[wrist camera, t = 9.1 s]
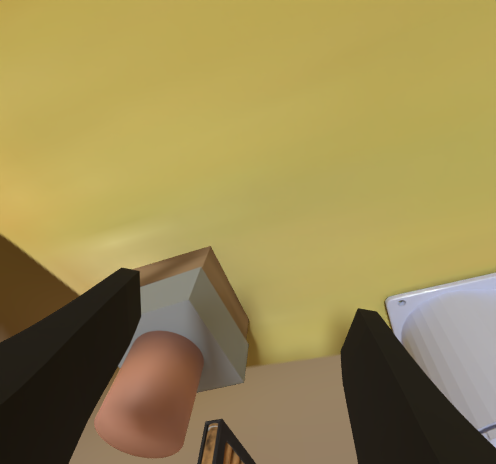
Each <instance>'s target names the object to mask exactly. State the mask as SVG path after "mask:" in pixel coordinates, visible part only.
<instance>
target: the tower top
mask: <svg viewBox="0 0 496 464" xmlns="http://www.w3.org/2000/svg"><path fill="white" fill-rule="evenodd" d="M140 294H141V319H140V321H139V324H138V326H137V329H136V331H135V334H134V336H133V339H132V341H131V343H130V345H129V347H128V349H127V351H126V353H125V354H124V356H123V358H122V360H121V362H120V363H119V365H118V367H119V368H121V366H122V364H123V362H124V360H125V359H126V357H127V355H128V353H129V351H130V349H131V347H132V345H133V343H134V341H135V340H136V339H137V338H138V337H139V336H140V335H142V334H144V333H147V332H151V331H169V332H173V333H177V334H179V335H182V336H184V337H186V338H187V339H189V340H190V341H192V342H193V343H194V344H195V345H196V346H197V347H198V348H199V349H200V351H201V353H202V355H203V358H204V366H203V369H202V373H201V377H200V381H199V385H198V389H197V393H198V392H202V391H207V390H212V389H216V388H222V387H226V386H231V385H236V384H240V383H244V379H245V371H246V363H247V355H248V346H249V344H248V343H247V341H246V339H245V338H244V336H243V334H242V333H241V331H240V329H239V328H238V326H237V325H236V323H235V321H234V320H233V318H232V316H231V315H230V313H229V311H228V310H227V308H226V307H225V305H224V303H223V302H222V300H221V298H220V297H219V295H218V293H217V292H216V290H215V289H214V287H213V285H212V284H211V282H210V280H209V279H208V277H207V275H206V274H205V272H204V271H203V269H202V267H199V268H196V269H193V270H190V271H187V272H184V273H181V274H178V275H175V276H172V277H169V278H166V279H163V280H160V281H157V282H154V283H151V284H148V285H145V286H142V287H140Z"/></svg>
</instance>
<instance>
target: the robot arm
mask: <svg viewBox="0 0 496 464" xmlns="http://www.w3.org/2000/svg"><path fill="white" fill-rule="evenodd" d="M401 300H404V301H402V302H399V301H401ZM385 304H386V308H387V311H388V315H389V319H390V322H391V326H392V329H393V332H392V331H391V329H390V328H389V327H388V325H387V324H386V323H385V321H384V320H383V319H382V317H381V316H380V315H379V314H378V312H376V311H370V310H364V309H359V308H358V310H357V312H356V314H355V317H354V319H353V322H352V324H351V327H350V329H349V332H348V334H347V337H346V339H345V342H344V344H343V347H342V349H341V368H342V379H343V387H344V392H345V398H346V403H347V408H348V413H349V418H350V423H351V428H352V433H353V439H354V443H355V448H356V454H357V459H358V464H496V273H492V274H487V275H483V276H479V277H474V278H470V279H465V280H461V281H456V282H452V283H447V284H443V285H438V286H434V287H429V288H425V289H421V290H416V291H412V292H407V293H403V294H398V295H394V296H390V297H388V298H387V299H386V300H385ZM140 319H141V294H140V271H137V270H132V269H126V268H120V269H119V270H117V271H116V272H114V273H113V274H111V275H110V276H108V277H107V278H106V279H104V280H103V281H101V282H100V283H98V284H97V285H95V286H94V287H92V288H91V289H90V290H88V291H87V292H85V293H84V294H82V295H81V296H79V297H78V298H76V299H75V300H73V301H72V302H70V303H68V304H67V305H65V306H64V307H62V308H61V309H59V310H57V311H56V312H54V313H52V314H51V315H49V316H48V317H46V318H44V319H43V320H41V321H39V322H37V323H36V324H34V325H32V326H31V327H29V328H27V329H25V330H24V331H22V332H20V333H18V334H16V335H14V336H12V337H11V338H9V339H7V340H4V341H3V342H1V343H0V464H69V461H70V459H71V456H72V454H73V452H74V450H75V448H76V446H77V443H78V441H79V439H80V437H81V434H82V432H83V430H84V428H85V426H86V423H87V421H88V419H89V418H90V416H91V414H92V412H93V410H94V408H95V406H96V404H97V403H98V401H99V399H100V397H101V395H102V394H103V392H104V390H105V388H106V387H107V385H108V383H109V381H110V379H111V378H112V376H113V374H114V372H115V370H116V369H117V367H118V365H119V363H120V362H121V360H122V358H123V356H124V354H125V353H126V351H127V349H128V347H129V345H130V343H131V341H132V339H133V336H134V334H135V331H136V329H137V326H138V324H139V321H140Z"/></svg>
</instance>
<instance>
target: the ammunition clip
mask: <svg viewBox="0 0 496 464" xmlns="http://www.w3.org/2000/svg"><path fill="white" fill-rule="evenodd" d="M197 464H256V463H255V462H254V460H253V459H252V458H251V456H250V455H249V454H248V453H247V451H246V450H245V448H244V447H243V446H242V444H241V443H240V442H239V440H238V439H237V438H236V436H235V435H234V434H233V432H232V431H231V430H230V429H229V427H228V426H227V424H226V423H225V422H224V420H223V419H219V420H212V421H206V422H205V427H204V432H203V437H202V442H201V448H200V453H199V458H198V463H197Z"/></svg>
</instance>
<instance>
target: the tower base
mask: <svg viewBox="0 0 496 464" xmlns="http://www.w3.org/2000/svg"><path fill="white" fill-rule="evenodd" d="M199 267H202V269H203V271H204V272H205V274H206V275H207V277H208V279H209V280H210V282H211V284H212V285H213V287H214V289H215V290H216V292H217V293H218V295H219V297H220V298H221V300H222V302H223V303H224V305H225V307H226V308H227V310H228V311H229V313H230V315H231V316H232V318H233V320H234V321H235V323H236V325H237V326H238V328H239V329H240V331H241V333H242V334H243V336H244V338H245V339H246V338H247V331H248V323H249V319H248V317H247V315H246V313H245V311H244V310H243V308H242V306H241V304H240V302H239V300H238V298H237V296H236V294H235V292H234V290H233V288H232V286H231V285H230V283H229V281H228V279H227V277H226V275H225V273H224V271H223V269H222V267H221V265H220V263H219V261H218V259H217V258H216V256H215V254H214V252H213V250H212V248H211V246H209V247H206V248H202V249H199V250H196V251H192V252H189V253H186V254H182V255H179V256H176V257H172V258H169V259H166V260H162V261H159V262H156V263H152V264H149V265H145V266H142V267H139V268H135V269H132V270H137V271H140V287H142V286H145V285H148V284H151V283H154V282H157V281H160V280H163V279H166V278H169V277H172V276H175V275H178V274H181V273H184V272H187V271H190V270H193V269H196V268H199Z"/></svg>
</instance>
